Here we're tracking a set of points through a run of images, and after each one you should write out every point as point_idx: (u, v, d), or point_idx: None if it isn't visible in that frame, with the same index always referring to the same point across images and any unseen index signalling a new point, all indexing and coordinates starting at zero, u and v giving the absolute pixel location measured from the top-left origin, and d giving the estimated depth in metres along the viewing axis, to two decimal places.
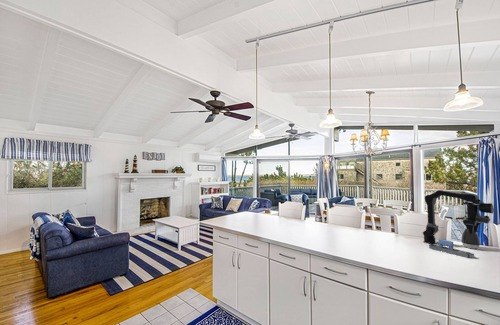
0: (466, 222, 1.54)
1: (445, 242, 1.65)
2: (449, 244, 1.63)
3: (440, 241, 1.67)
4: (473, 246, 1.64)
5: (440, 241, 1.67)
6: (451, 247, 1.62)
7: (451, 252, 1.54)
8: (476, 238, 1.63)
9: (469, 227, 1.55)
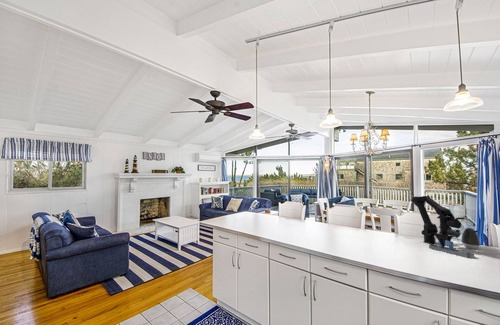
0: (438, 236, 1.62)
1: (445, 242, 1.65)
2: (449, 244, 1.63)
3: None
4: (473, 246, 1.64)
5: None
6: (451, 247, 1.62)
7: (451, 252, 1.54)
8: (476, 238, 1.63)
9: (441, 241, 1.64)
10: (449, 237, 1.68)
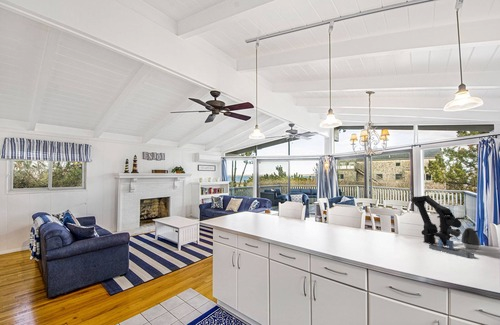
0: (438, 235, 1.62)
1: None
2: (449, 243, 1.63)
3: (440, 240, 1.67)
4: (473, 246, 1.64)
5: (440, 240, 1.67)
6: (451, 246, 1.62)
7: (451, 252, 1.54)
8: (476, 238, 1.63)
9: (443, 239, 1.65)
10: (447, 237, 1.66)
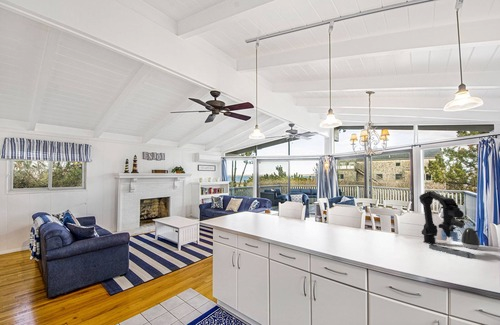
0: (441, 226, 1.55)
1: None
2: (453, 235, 1.55)
3: (443, 232, 1.60)
4: (473, 246, 1.64)
5: (444, 232, 1.60)
6: (455, 238, 1.54)
7: (451, 252, 1.54)
8: (476, 238, 1.63)
9: (446, 231, 1.57)
10: (451, 228, 1.59)
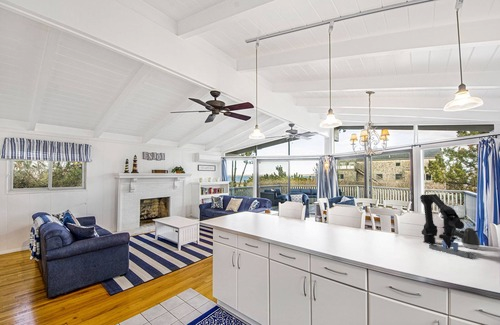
0: (442, 237, 1.54)
1: None
2: (454, 245, 1.55)
3: (444, 242, 1.59)
4: (473, 246, 1.64)
5: (444, 242, 1.59)
6: (456, 249, 1.54)
7: (451, 252, 1.54)
8: (476, 238, 1.63)
9: (447, 241, 1.57)
10: (452, 239, 1.58)
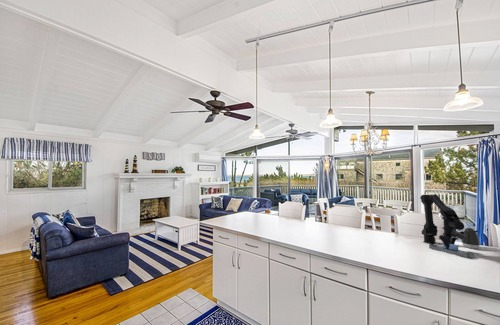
0: (442, 238, 1.54)
1: None
2: (454, 248, 1.54)
3: (444, 245, 1.59)
4: (473, 246, 1.64)
5: None
6: None
7: (451, 252, 1.54)
8: (476, 238, 1.63)
9: (446, 243, 1.56)
10: (453, 239, 1.59)
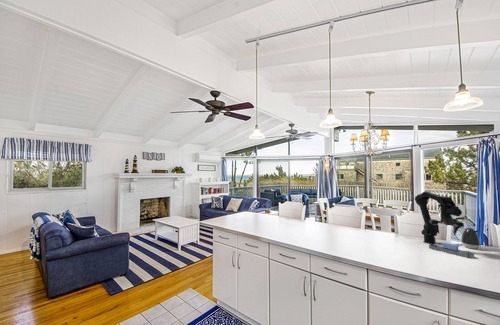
0: (430, 221, 1.69)
1: (449, 246, 1.57)
2: (454, 248, 1.54)
3: (444, 245, 1.59)
4: (473, 246, 1.64)
5: (444, 244, 1.59)
6: None
7: (451, 252, 1.54)
8: (476, 238, 1.63)
9: (436, 227, 1.67)
10: (455, 227, 1.61)
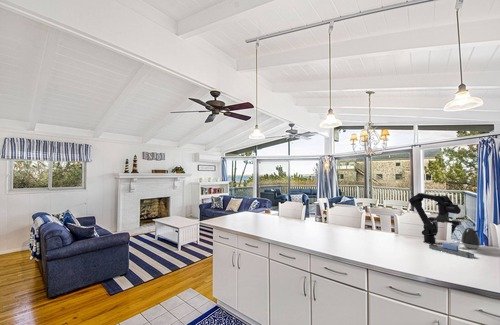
0: None
1: (449, 246, 1.57)
2: (454, 248, 1.54)
3: (444, 245, 1.59)
4: (473, 246, 1.64)
5: (444, 244, 1.59)
6: None
7: (451, 252, 1.54)
8: (476, 238, 1.63)
9: None
10: None
